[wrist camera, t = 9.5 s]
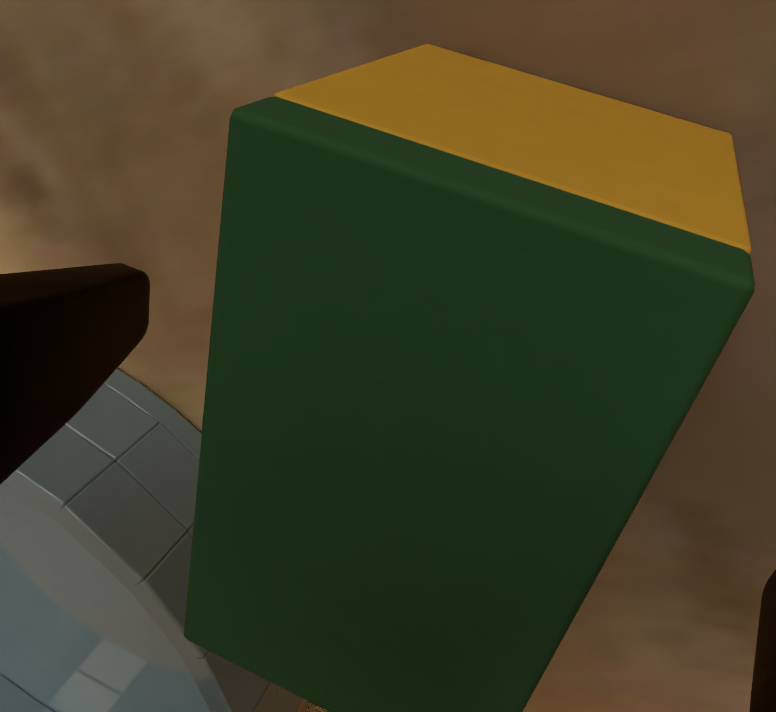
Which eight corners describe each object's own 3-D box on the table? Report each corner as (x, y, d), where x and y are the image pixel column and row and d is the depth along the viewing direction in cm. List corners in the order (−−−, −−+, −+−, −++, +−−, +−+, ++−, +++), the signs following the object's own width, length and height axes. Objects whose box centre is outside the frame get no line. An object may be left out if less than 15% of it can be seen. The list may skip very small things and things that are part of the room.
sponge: (551, 520, 14) (480, 791, 9) (339, 430, 15) (180, 640, 10) (732, 134, 10) (760, 286, 5) (426, 42, 11) (225, 105, 6)
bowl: (280, 820, 23) (220, 943, 20) (-94, 616, 26) (-192, 698, 23) (372, 472, 15) (295, 595, 12) (-189, 231, 18) (-358, 284, 15)
